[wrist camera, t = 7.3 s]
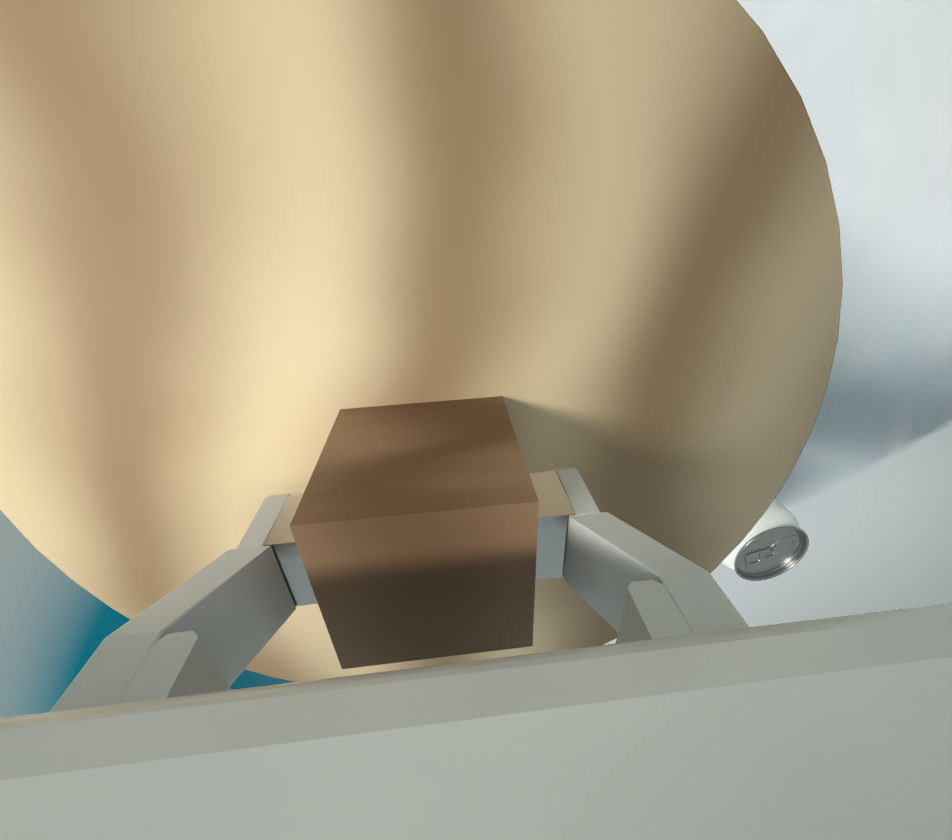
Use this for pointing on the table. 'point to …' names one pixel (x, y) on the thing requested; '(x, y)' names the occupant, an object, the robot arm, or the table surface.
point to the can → (769, 546)
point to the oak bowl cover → (401, 298)
